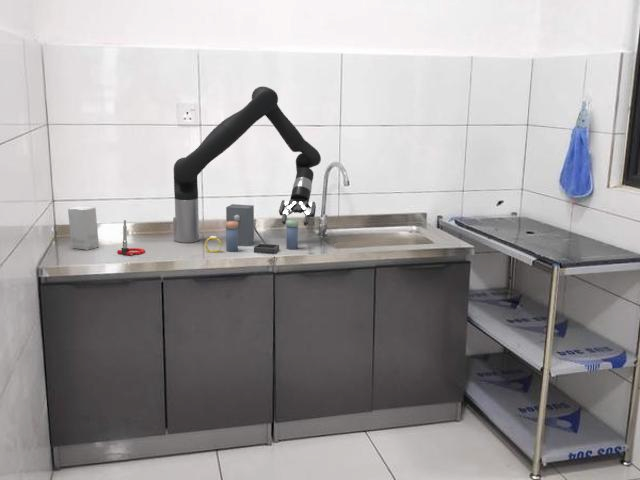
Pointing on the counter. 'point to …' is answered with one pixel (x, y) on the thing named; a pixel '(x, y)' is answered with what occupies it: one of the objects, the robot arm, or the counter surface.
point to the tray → (266, 248)
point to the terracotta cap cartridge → (231, 236)
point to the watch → (213, 238)
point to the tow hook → (126, 250)
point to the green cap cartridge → (291, 234)
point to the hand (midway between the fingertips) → (294, 224)
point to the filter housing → (242, 222)
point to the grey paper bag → (83, 227)
